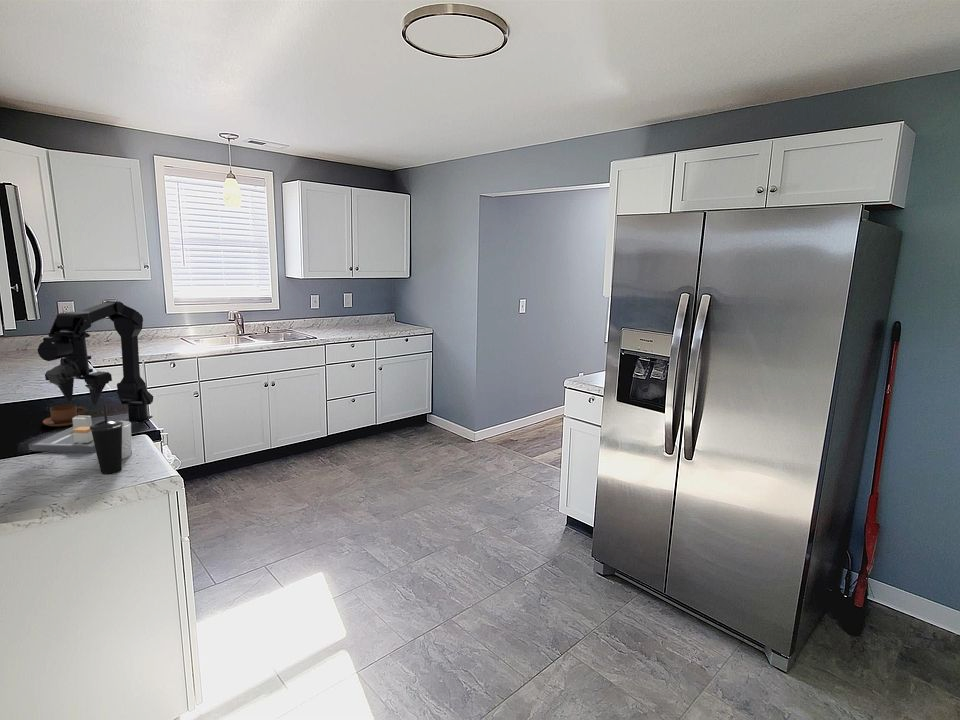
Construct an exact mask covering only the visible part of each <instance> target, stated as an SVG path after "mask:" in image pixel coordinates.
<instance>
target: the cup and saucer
mask: <svg viewBox="0 0 960 720" xmlns="http://www.w3.org/2000/svg"><path fill="white" fill-rule="evenodd" d="M79 409H82V412H78V410H79ZM49 413H50V416H49V417H47V418H45V419H43V420H42V423H43V425H45V426H48V427H55V428H56V427H68V426H73V420H72V418H74V417H75V416H86V414H85V413H86V408H85V407H83V406H77V405H76V404H73V403H65V404H57V405H54V406H51V407H49Z"/></svg>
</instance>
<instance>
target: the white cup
mask: <svg viewBox="0 0 960 720" xmlns="http://www.w3.org/2000/svg"><path fill="white" fill-rule="evenodd" d="M119 421H120V422H122V423H123V426H122V460H124V459H126V458H129V457H131V455H132V452H133V451H132V445H133V444H132V422H129V421H125V420H119Z"/></svg>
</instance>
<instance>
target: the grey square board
mask: <svg viewBox="0 0 960 720" xmlns="http://www.w3.org/2000/svg"><path fill="white" fill-rule="evenodd" d="M31 450H32V452H47V453H49V452H52V453H54V452H55V453H87V454H90V453H91V454H93V453H96V449H95V444H94V440H92V441H90V442H88V443H76V442H74V436H73V426H71V427H68V428H66V429H65V430H62V431H59V432H58V433H55V434H53V435H51V436H49V437H46V438H44V439H41V440H39V441H37V442H35V443H32V444H31Z"/></svg>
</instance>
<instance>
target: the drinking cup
mask: <svg viewBox="0 0 960 720" xmlns="http://www.w3.org/2000/svg"><path fill="white" fill-rule="evenodd" d="M102 410H103V411H102V412H103V417H104V418H103V420H101V421H98V422H96V423H93V424H92V425H91V426H90V430H91V431H92V436H93V440H94V444H95V449H96V451H95V453H96V458H97V461H98V465H99V470H100V473H101V474H102V475H107V476H108V475H114V474H115V475H116V474H118V473H120V472H121V471H122V467H123V466H122V464H123V463H122V461H123V459H122V426H123V423H122V422H120V421H121V420H116V419H115V420H114V419H108V412H107V403H106V402H103V403H102Z"/></svg>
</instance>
